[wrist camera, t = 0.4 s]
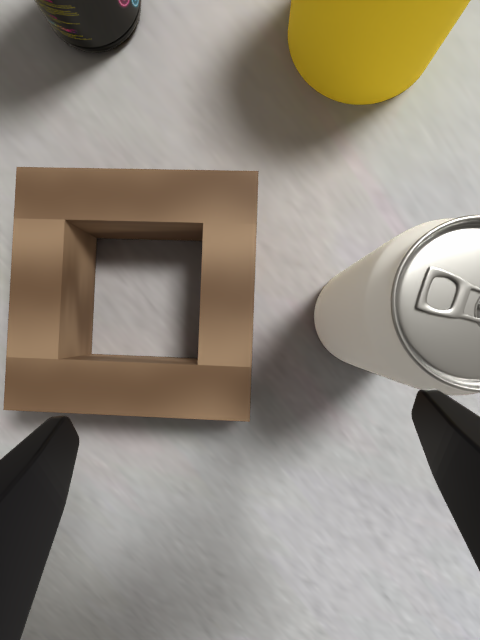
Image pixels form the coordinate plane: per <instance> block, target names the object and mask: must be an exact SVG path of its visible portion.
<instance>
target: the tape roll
mask: <svg viewBox="0 0 480 640" xmlns="http://www.w3.org/2000/svg"><path fill="white" fill-rule="evenodd" d="M469 2H470V0H291V7H290V16H289V25H288V45H289V50H290V54H291V57H292V60H293V62H294V65H295V67H296V68H297V70H298V72H299V73H300V75H301V76H302V77H303V79H304V80H305V81H306V82H307V83H308V84H309V85H310V86H311V87H312V88H313V89H315V90H316V91H317V92H319V93H320V94H322V95H324V96H326V97H328V98H330V99H332V100H335V101H338V102H342V103H346V104H354V105H366V104H374V103H378V102H382V101H385V100H388V99H390V98H393V97H395V96H397V95H399V94H400V93H402V92H403V91H405V90H406V89H408V88H409V87H410V86H411V85H412V84H413V83H414V82H415V81H416V80H417V79H418V78H419V77H420V76H421V74H422V73H423V72H424V70H425V69H426V67H427V66H428V64H429V63H430V61H431V60H432V58H433V57H434V55H435V53H436V52H437V50H438V49H439V47H440V46H441V44H442V43H443V41H444V40H445V38H446V37H447V35H448V34H449V32H450V31H451V29H452V28H453V26H454V25H455V23H456V22H457V20H458V19H459V17H460V16H461V14H462V13H463V11H464V10H465V8H466V6H467V5H468V3H469Z"/></svg>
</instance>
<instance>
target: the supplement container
mask: <svg viewBox="0 0 480 640" xmlns="http://www.w3.org/2000/svg"><path fill="white" fill-rule="evenodd" d="M34 1H35V3H36V4H37V6H38V7H39V9H40V10H41V12H42V13H43V15H44V16H45V18H46V19H47V21H48V22H49V24H50V25H51V27H52V28H53V30H54V31H55V32H56V34H57V35H58V36H59V37H60V38H61V39H62V40H64V41H65V42H66V43H68V44H69V45H71V46H72V47H74V48H77V49H79V50H82V51H87V52H103V51H107V50H111V49H113V48H115V47H117V46H119V45H120V44H122V43H123V42H124V41H125V40H126V39H127V38H128V37H129V36H130V35H131V33H132V32H133V30H134V29H135V27H136V25H137V22H138V20H139V16H140V11H141V0H34Z"/></svg>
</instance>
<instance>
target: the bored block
mask: <svg viewBox="0 0 480 640" xmlns="http://www.w3.org/2000/svg"><path fill="white" fill-rule="evenodd" d="M257 199H258V171H220V170H161V169H102V168H43V167H17V171H16V189H15V208H14V226H13V245H12V263H11V282H10V301H9V319H8V338H7V356H6V375H5V393H4V410H16V411H37V412H58V413H79V414H100V415H122V416H143V417H164V418H185V419H206V420H227V421H248V422H249V421H250V397H251V369H252V341H253V312H254V284H255V255H256V227H257ZM97 238H108V239H147V240H186V241H203V242H202V267H201V293H200V318H199V344H198V358H178V357H153V356H128V355H103V354H91V352H92V331H93V310H94V289H95V268H96V247H97Z"/></svg>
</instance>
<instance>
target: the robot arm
mask: <svg viewBox="0 0 480 640" xmlns="http://www.w3.org/2000/svg"><path fill="white" fill-rule="evenodd" d="M412 420H413V423H414V426H415V428H416V431H417V434H418V436H419V439H420V442H421V445H422V447H423V450H424V453H425V455H426V458H427V461H428V464H429V466H430V469H431V471H432V474H433V476H434V479H435V481H436V483H437V485H438V487H439V489H440V491H441V494H442V496H443V498H444V500H445V502H446V504H447V506H448V508H449V510H450V512H451V514H452V516H453V518H454V520H455V522H456V524H457V526H458V528H459V530H460V532H461V534H462V536H463V538H464V540H465V542H466V544H467V546H468V548H469V550H470V552H471V555H472V557H473V559H474V561H475V563H476V565H477V567H478V569H479V571H480V416H478V415H476V414H475V413H473V412H472V411H470V410H469V409H467V408H466V407H464V406H463V405H461V404H460V403H458V402H457V401H455V400H453V399H452V398H450V397H449V396H447V395H446V394H444V393H443V392H441V391H440V390H438V389H422V390H419V391H418V393H417V396H416V399H415V402H414V405H413V409H412ZM78 447H79V436H78V434H77V432H76V430H75V428H74V426H73V424H72V422H71V420H70V419H69V417H67V416H56V417H51V418H49V419H47V420H46V421H45V422H44V423H43V424H41V425H40V426H39V427H38V428H37V429H36V430H34V431H33V432H32V433H31V434H30V435H29V436H27V437H26V438H25V439H24V440H23V441H22V442H20V443H19V444H18V445H17V446H16V447H15V448H13V449H12V450H11V451H10V452H9V453H8V454H6V455H5V456H4V457H3V458H2V459H1V460H0V640H20V638H21V635H22V633H23V630H24V627H25V624H26V621H27V618H28V615H29V612H30V609H31V606H32V603H33V600H34V597H35V594H36V591H37V588H38V585H39V582H40V579H41V576H42V573H43V570H44V567H45V564H46V561H47V558H48V555H49V552H50V549H51V546H52V543H53V540H54V537H55V534H56V531H57V528H58V525H59V522H60V519H61V516H62V513H63V510H64V507H65V504H66V500H67V496H68V492H69V487H70V483H71V478H72V474H73V469H74V465H75V460H76V456H77V452H78Z"/></svg>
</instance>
